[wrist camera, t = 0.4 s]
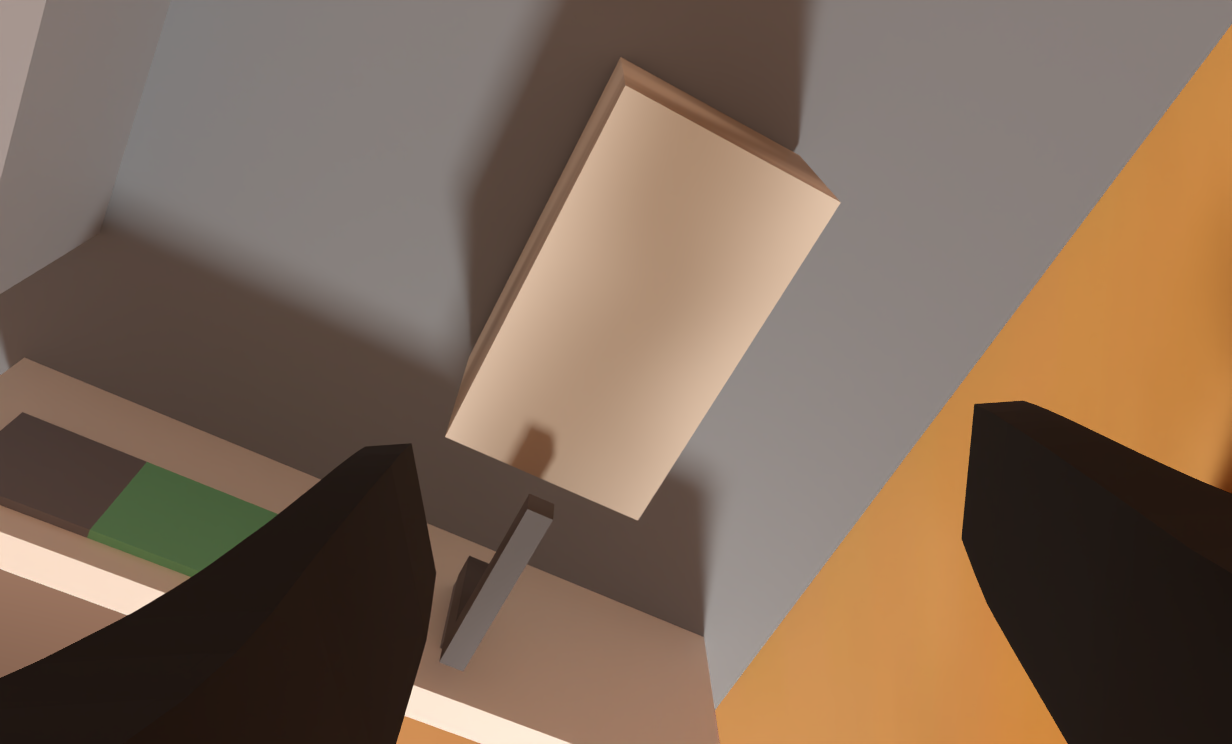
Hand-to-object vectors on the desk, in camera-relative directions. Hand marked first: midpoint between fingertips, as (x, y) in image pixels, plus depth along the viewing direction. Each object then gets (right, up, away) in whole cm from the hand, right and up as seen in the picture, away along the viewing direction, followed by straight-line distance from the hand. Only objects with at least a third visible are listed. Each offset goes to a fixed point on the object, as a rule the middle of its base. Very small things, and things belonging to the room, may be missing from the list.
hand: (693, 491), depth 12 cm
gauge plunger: (-2, +2, +8) cm, 9 cm away
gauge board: (-3, +5, +8) cm, 10 cm away
